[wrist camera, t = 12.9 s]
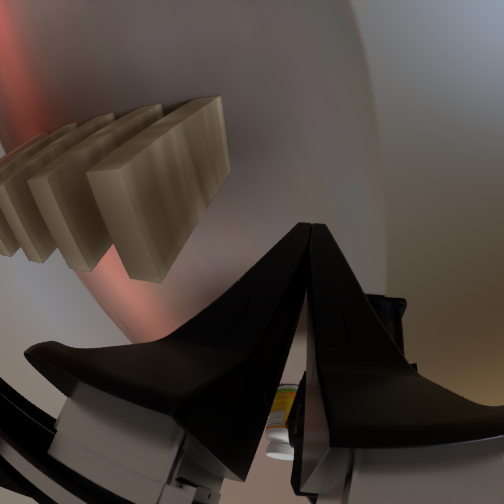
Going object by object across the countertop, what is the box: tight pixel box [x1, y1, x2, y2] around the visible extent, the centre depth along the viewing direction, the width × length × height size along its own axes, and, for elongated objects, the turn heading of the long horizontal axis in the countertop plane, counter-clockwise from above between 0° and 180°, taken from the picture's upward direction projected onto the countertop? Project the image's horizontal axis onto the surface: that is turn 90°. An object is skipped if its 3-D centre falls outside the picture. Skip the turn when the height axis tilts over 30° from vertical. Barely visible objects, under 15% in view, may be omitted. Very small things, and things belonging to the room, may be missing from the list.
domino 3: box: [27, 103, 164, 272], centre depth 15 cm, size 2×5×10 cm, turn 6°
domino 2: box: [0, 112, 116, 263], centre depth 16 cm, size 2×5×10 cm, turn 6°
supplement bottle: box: [265, 385, 298, 460], centre depth 35 cm, size 5×5×10 cm
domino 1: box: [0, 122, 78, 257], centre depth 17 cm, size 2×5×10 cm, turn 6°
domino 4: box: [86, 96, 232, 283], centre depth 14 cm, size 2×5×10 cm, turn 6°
